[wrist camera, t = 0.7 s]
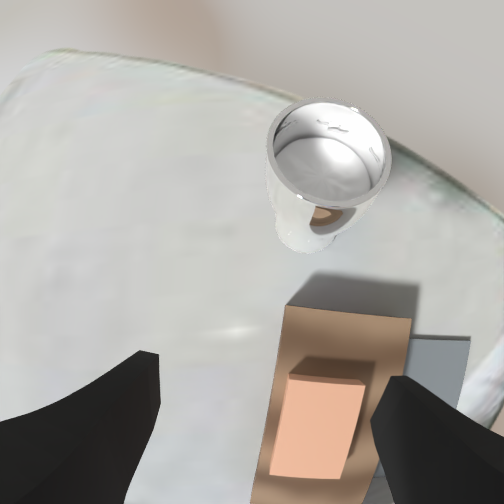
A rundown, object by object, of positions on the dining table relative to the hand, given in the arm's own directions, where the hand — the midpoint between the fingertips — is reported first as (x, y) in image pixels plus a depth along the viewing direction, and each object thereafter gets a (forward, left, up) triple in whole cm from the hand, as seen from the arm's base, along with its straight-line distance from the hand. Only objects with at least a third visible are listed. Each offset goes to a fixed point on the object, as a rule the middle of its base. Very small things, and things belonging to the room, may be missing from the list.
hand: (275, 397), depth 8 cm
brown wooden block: (-7, -6, -19) cm, 21 cm away
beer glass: (+11, -1, -20) cm, 22 cm away
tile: (-7, -4, -15) cm, 18 cm away
